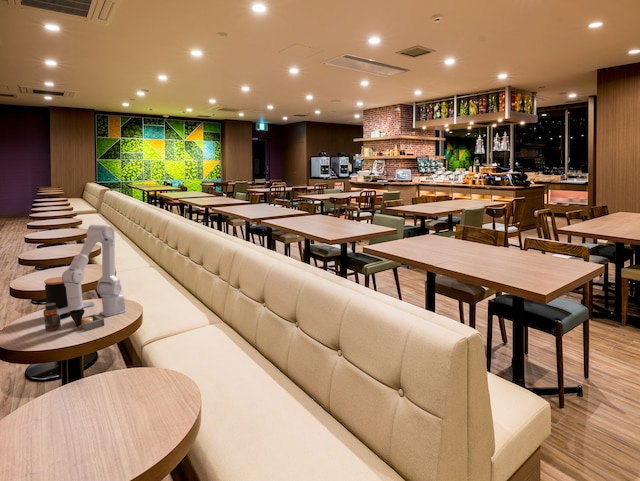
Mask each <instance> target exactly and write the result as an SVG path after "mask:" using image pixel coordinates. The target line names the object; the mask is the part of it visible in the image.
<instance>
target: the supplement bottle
mask: <svg viewBox="0 0 640 481" xmlns="http://www.w3.org/2000/svg"><path fill="white" fill-rule="evenodd" d="M57 310H59V308H57V307H56V303H49V304H47V303H46V304H45V305H44V310H43V311H42V313H43V319H44V321H43V322H44V328H45V330H46V331H47V332H48V331H49V332H50V331H56V330H59V329H60V328H62V322H61V319H60V315H58V314H57Z"/></svg>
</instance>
